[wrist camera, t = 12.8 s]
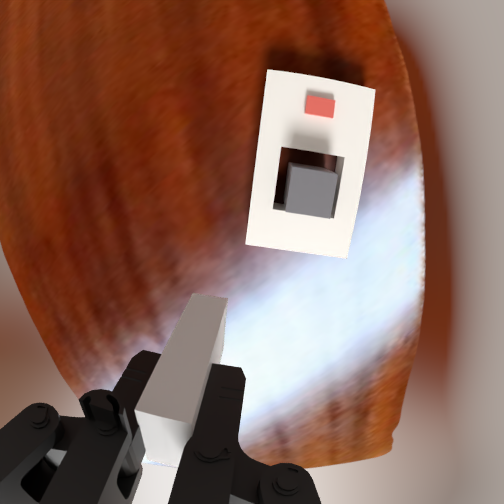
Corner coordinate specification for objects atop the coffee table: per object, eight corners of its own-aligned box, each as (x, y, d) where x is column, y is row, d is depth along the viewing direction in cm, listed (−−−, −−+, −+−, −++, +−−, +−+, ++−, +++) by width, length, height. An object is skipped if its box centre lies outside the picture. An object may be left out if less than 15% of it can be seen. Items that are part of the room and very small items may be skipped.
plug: (288, 161, 36) (292, 166, 28) (324, 167, 36) (338, 174, 28) (283, 197, 37) (285, 211, 30) (319, 203, 37) (330, 218, 30)
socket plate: (268, 77, 32) (267, 67, 28) (365, 94, 32) (377, 88, 27) (248, 234, 39) (244, 246, 35) (340, 247, 39) (348, 261, 34)
